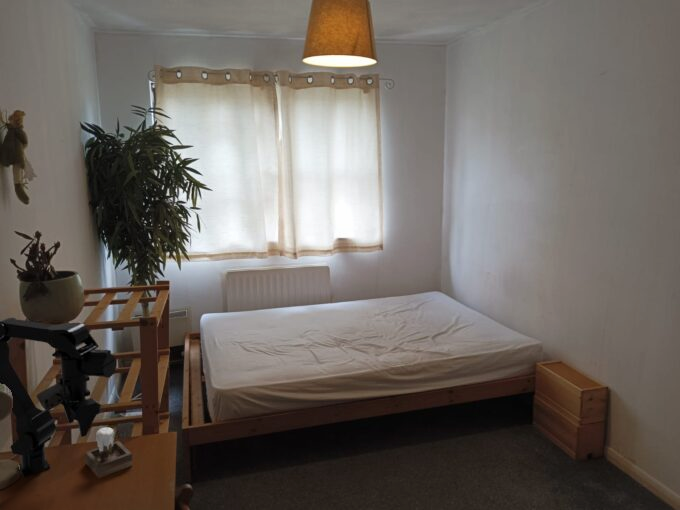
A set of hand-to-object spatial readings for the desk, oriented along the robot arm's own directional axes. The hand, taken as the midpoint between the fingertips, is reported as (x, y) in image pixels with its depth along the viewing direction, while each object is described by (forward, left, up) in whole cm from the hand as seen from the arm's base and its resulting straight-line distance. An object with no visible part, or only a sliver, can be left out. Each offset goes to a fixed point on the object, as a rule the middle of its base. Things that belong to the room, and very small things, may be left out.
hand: (77, 429), depth 139 cm
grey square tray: (0, +8, -13) cm, 15 cm away
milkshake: (+1, +7, -12) cm, 14 cm away
